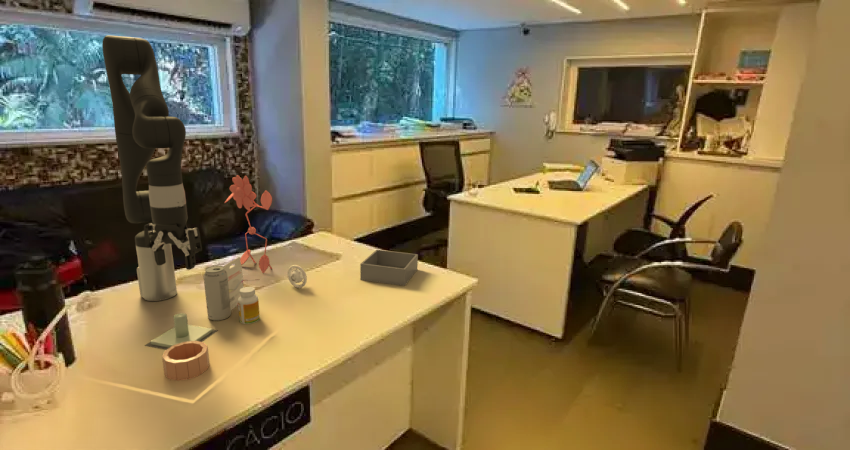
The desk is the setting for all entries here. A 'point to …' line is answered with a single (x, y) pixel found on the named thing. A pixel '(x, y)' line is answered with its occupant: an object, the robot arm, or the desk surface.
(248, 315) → the supplement bottle
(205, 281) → the energy drink can
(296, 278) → the white round piece
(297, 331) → the desk surface
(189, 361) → the bowl
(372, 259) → the tray
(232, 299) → the ink cartridge box
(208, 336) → the mat
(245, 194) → the pink flower figurine
